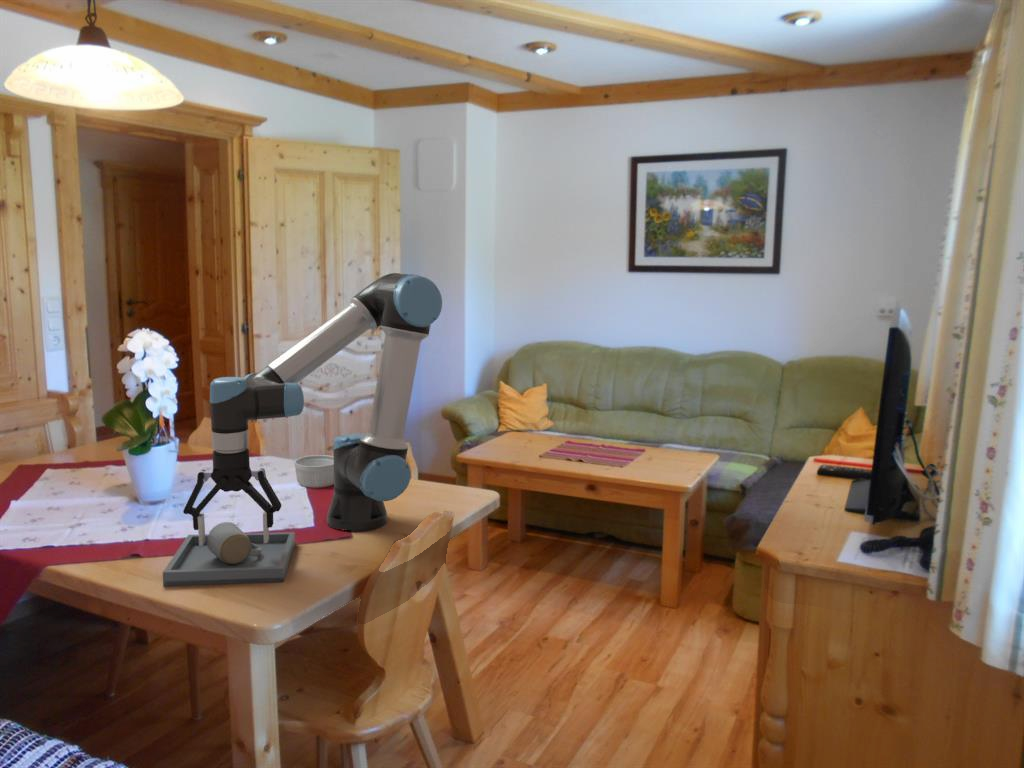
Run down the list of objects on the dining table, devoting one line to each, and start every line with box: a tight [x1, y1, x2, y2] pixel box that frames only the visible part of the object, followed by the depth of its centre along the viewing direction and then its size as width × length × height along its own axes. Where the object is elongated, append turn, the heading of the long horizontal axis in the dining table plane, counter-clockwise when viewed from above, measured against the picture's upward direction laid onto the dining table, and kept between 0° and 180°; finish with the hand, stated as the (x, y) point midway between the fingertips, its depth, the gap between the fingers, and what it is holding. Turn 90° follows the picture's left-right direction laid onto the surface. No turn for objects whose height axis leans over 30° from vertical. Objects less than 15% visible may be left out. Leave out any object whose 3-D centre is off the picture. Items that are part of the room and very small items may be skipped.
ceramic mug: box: [207, 521, 262, 565], centre depth 176 cm, size 11×8×8 cm
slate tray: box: [162, 531, 296, 587], centre depth 176 cm, size 24×22×3 cm
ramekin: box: [293, 454, 334, 489], centre depth 238 cm, size 13×13×7 cm
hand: (234, 542), depth 176 cm, fingers open, 13 cm apart
